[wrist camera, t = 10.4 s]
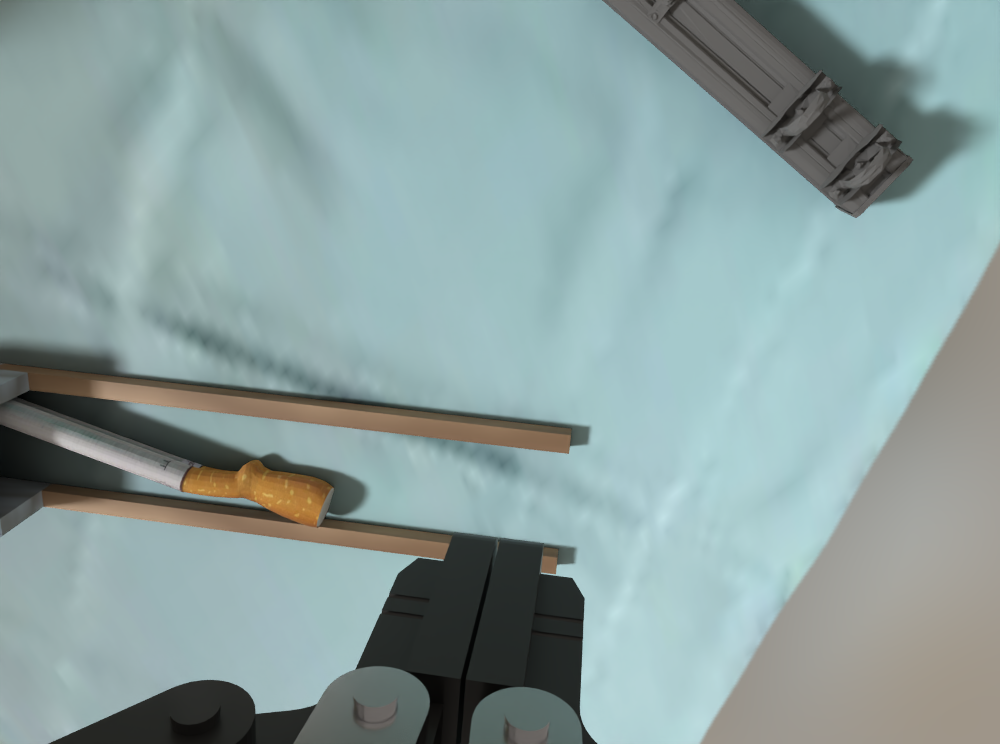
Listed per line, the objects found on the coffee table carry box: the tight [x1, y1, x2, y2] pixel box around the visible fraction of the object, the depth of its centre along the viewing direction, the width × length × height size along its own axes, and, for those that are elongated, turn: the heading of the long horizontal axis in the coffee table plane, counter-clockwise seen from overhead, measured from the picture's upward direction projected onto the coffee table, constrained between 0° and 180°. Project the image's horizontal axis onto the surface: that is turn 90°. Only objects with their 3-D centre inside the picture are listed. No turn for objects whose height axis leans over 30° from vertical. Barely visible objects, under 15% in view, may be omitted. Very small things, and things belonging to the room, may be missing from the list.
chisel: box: [0, 397, 334, 528], centre depth 44 cm, size 19×3×3 cm
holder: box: [0, 363, 572, 574], centre depth 42 cm, size 8×35×5 cm, turn 86°
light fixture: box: [602, 0, 913, 218], centre depth 33 cm, size 3×15×6 cm, turn 51°
